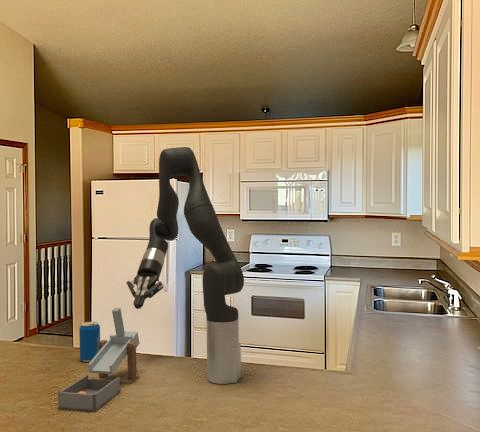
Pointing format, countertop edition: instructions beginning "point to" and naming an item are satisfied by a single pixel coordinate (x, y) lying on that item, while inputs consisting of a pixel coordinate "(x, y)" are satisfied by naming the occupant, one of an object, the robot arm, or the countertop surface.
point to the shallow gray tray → (88, 394)
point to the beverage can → (89, 340)
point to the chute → (113, 348)
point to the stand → (130, 361)
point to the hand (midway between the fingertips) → (137, 307)
